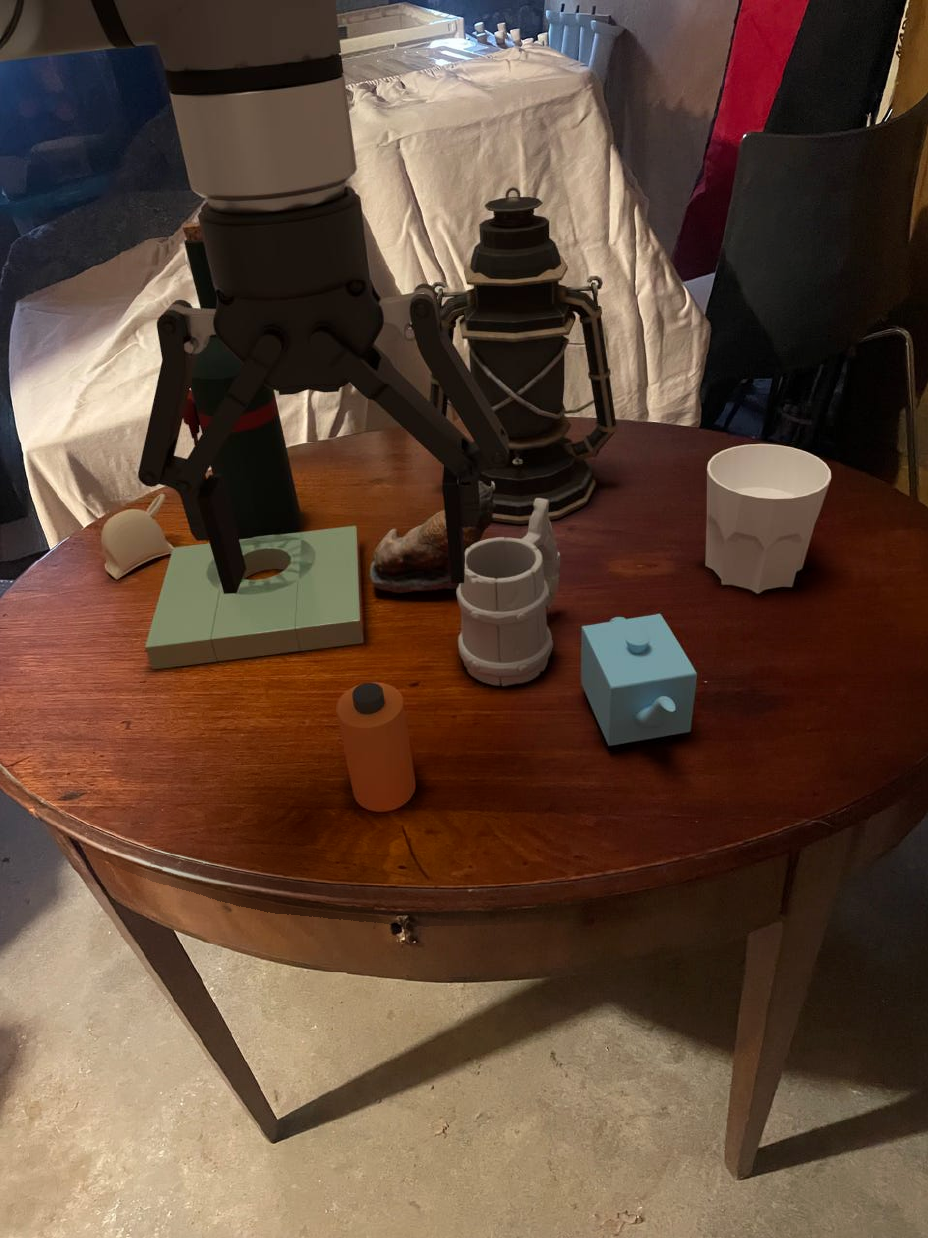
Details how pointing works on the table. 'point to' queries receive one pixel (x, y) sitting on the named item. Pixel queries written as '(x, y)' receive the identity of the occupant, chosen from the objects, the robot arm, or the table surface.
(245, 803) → the table surface
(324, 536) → the green peg socket base
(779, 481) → the cup
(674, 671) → the teapot
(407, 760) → the orange cylinder
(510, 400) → the lantern
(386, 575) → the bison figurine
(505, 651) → the mug
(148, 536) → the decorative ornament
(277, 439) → the wine bottle
